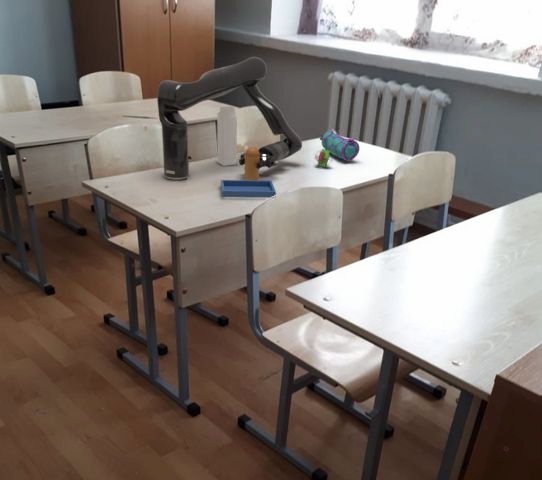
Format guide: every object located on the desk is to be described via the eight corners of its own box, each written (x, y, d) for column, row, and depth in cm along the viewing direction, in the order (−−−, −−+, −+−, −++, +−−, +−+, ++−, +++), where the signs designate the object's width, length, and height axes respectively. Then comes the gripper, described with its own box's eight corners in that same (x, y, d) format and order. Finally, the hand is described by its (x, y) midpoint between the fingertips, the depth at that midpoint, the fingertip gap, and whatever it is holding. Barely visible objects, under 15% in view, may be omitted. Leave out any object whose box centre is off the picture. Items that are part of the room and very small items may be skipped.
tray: (220, 187, 217) (220, 179, 215) (271, 188, 219) (271, 180, 217) (222, 198, 206) (222, 190, 205) (275, 199, 208) (275, 191, 207)
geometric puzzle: (325, 156, 251) (319, 142, 245) (337, 160, 247) (332, 146, 241) (315, 169, 250) (309, 155, 243) (328, 173, 246) (322, 159, 240)
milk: (217, 162, 244) (216, 105, 232) (230, 160, 246) (231, 104, 235) (223, 166, 240) (222, 108, 228) (236, 164, 242) (237, 107, 230)
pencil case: (318, 150, 268) (320, 128, 263) (335, 149, 271) (337, 127, 266) (341, 163, 252) (344, 139, 247) (359, 161, 255) (362, 138, 250)
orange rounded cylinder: (243, 179, 226) (244, 145, 219) (257, 179, 227) (259, 145, 220) (244, 183, 222) (245, 149, 215) (259, 184, 222) (260, 149, 215)
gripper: (286, 167, 230) (265, 177, 218) (253, 161, 236) (231, 170, 223) (287, 147, 226) (266, 157, 214) (254, 141, 232) (232, 150, 219)
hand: (248, 164), depth 219 cm, fingers open, 6 cm apart
